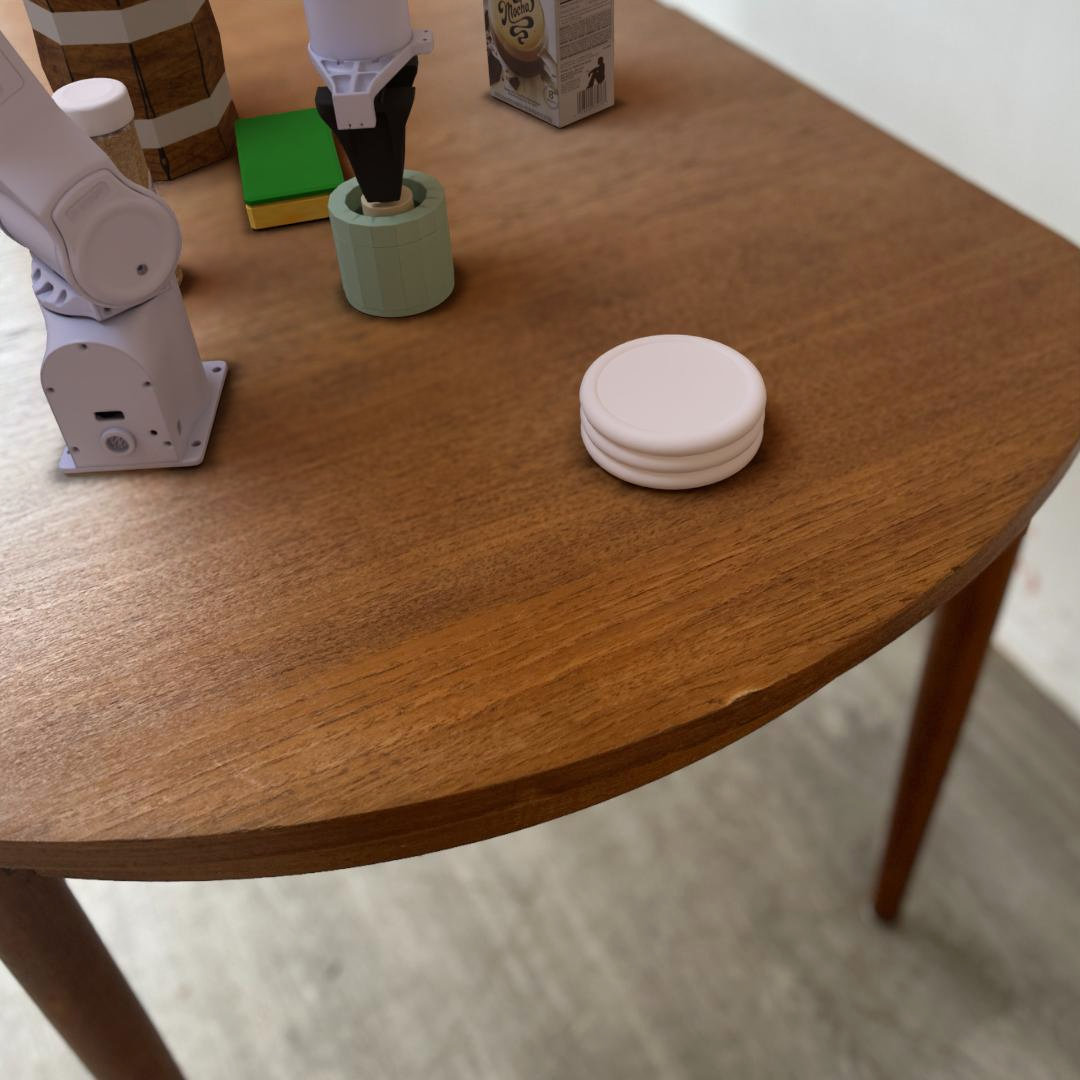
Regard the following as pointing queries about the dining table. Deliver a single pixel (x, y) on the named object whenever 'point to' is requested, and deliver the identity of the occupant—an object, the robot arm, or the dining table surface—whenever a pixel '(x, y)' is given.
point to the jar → (394, 250)
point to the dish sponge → (287, 167)
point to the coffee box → (551, 56)
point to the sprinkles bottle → (109, 126)
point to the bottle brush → (389, 205)
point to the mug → (147, 71)
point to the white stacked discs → (672, 411)
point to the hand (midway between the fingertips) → (385, 190)
